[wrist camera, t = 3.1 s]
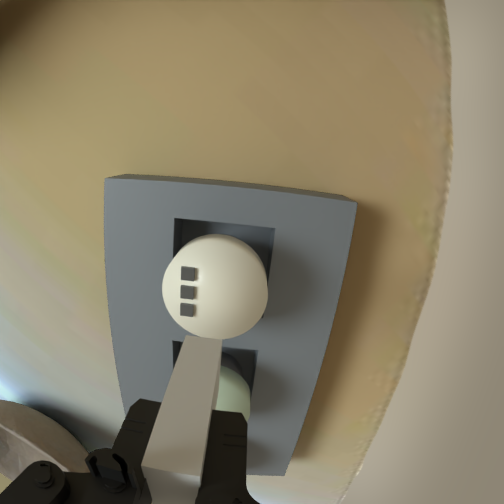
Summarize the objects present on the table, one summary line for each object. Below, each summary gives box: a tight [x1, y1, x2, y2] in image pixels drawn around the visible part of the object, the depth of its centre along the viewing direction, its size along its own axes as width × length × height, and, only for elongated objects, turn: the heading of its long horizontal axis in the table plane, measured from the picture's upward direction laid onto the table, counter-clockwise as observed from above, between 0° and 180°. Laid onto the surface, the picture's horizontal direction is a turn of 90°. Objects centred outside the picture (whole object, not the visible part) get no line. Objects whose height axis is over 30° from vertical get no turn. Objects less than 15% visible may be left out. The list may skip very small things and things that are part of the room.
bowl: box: [0, 400, 90, 481], centre depth 30 cm, size 26×26×10 cm
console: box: [104, 174, 358, 476], centre depth 27 cm, size 18×32×4 cm, turn 174°
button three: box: [162, 234, 268, 339], centre depth 21 cm, size 6×6×5 cm
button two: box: [216, 352, 250, 422], centre depth 24 cm, size 6×6×5 cm
